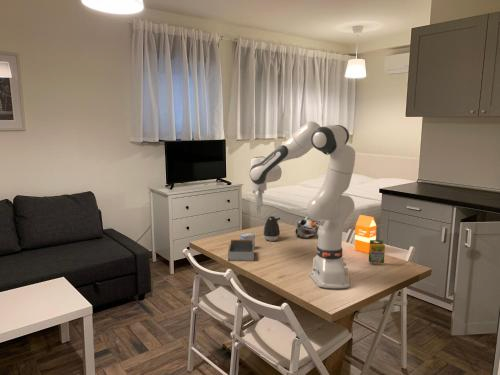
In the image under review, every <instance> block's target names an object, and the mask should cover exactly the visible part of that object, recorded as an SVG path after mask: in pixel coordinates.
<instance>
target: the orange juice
mask: <svg viewBox="0 0 500 375" xmlns="http://www.w3.org/2000/svg"><path fill="white" fill-rule="evenodd" d="M354 234H355V235H354V250H356V251H360V252H364V253H367V254H369V247H370V240H377V224H376V220H375V218H374V217H373V216H368V215H363V214H359V217H358V219H357V220H356V223H355V233H354ZM374 243H376V241H374Z"/></svg>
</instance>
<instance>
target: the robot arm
mask: <svg viewBox="0 0 500 375" xmlns="http://www.w3.org/2000/svg"><path fill="white" fill-rule="evenodd" d="M349 140H350V133H349V130H348V129H347V128H346V127H345V126H343V125H340V124H335V125H334V124H332V125H331V124H328V125H324V126H321V125H320V124H319V123H317V122H316V121H311V120H310V121H307V122H305V123H304V124H303V125H302V126H300V127H299V128H298V129H297V130H296V131H295V132H294V133H293V134H292V135H291V136H290V137H289V138H287V140H286V141H284V142H283V143H282V144H281V145H279V146H278V147H277V148H276V149H274V150H273V151H271V153H269V155H267V156H266V157H265V156H255V157H253V158H251V160H250V165H249V179H250V180H249V183H250V184H249V186H250V188H249V189H250V191H252V193H253V196H254V203H255V204H254V205H255V207H256V214H258V215H260V214H261V213H262V212H261V210H262V207H263V194H265V191H267V185H268V183H273V182H277V181H279V180H280V179H281V177H282V173H283V172H282V168H281V166H280V164H281V163H284V162H286V161H289V160H294V159H298V158H301V157H302V156H304V155H306V154H308V152H310V151H311V150H312V149H313V148H315V149H316V150H318V151H320V152H322V153H323V154H324V155H326V156H328V155H329V163H328V167H327V170H326V175H325V179H324V181H323V184H322V186H321V187H320V189H319V190H318V192H317V193H316V195H315V196H314V197H313V198H312V199H310V200H309V201H308V203H307V204H306V205H307V206H306V213H307V216H308V217H309V218H310V220H312V221H321V222H324V221H325V222H324V223H323V224H322V226H321V227H319V229H318V231H317V246H316V256H314V257H313V258H312V259H313V260H312V271H309V272H308V276H309V277H310V278H311V279H312V280H313V281H314V282H315V283H316V285H317V286H318V287H320V288H325V289H346V288H349V287H350V278H349V268H347V267H346V266H347V263H346V262H345V258H344V257H343V247H342V240H343V232H344V229H345V226H346V223H347V221H348V218H350V216H351V215H352V214H353V213H354V211H355V202H354V200H353V197H351V196H349V195H345V194H344V193H345V192H346V191H347V190H348V189H349V187H350V183H351V180H352V176H353V172H354V169H355V163H356V151H355V148H353V147H352V146H351V145H348V144H347V143H348V142H349Z"/></svg>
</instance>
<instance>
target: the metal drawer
mask: <svg viewBox="0 0 500 375" xmlns="http://www.w3.org/2000/svg"><path fill="white" fill-rule="evenodd" d="M254 253H255V249H254V245H252V240H240V239H230V244H229V245H228V251H227V261H228V262H254V261H255V260H254V258H255V257H254V256H255V254H254Z"/></svg>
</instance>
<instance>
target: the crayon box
mask: <svg viewBox="0 0 500 375" xmlns="http://www.w3.org/2000/svg"><path fill="white" fill-rule="evenodd" d="M374 241H375V243H374ZM385 250H386V244H384V240H383V239H380V240H378V239H376V240H370V247H369V253H368V262H369V263H370V264H385Z"/></svg>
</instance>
